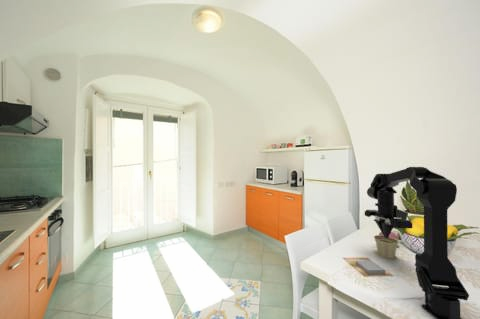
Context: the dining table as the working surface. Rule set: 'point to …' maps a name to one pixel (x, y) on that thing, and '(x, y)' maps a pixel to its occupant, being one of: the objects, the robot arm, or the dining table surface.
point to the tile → (370, 267)
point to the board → (353, 263)
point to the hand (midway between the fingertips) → (386, 237)
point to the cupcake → (391, 235)
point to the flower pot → (386, 246)
